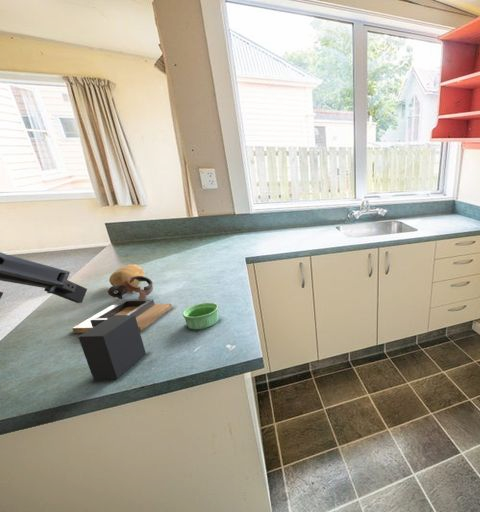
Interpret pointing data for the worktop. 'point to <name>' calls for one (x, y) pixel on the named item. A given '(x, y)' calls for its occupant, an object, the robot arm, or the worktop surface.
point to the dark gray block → (112, 346)
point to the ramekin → (201, 315)
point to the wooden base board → (141, 309)
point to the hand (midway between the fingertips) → (40, 298)
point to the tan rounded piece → (126, 274)
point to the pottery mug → (131, 288)
